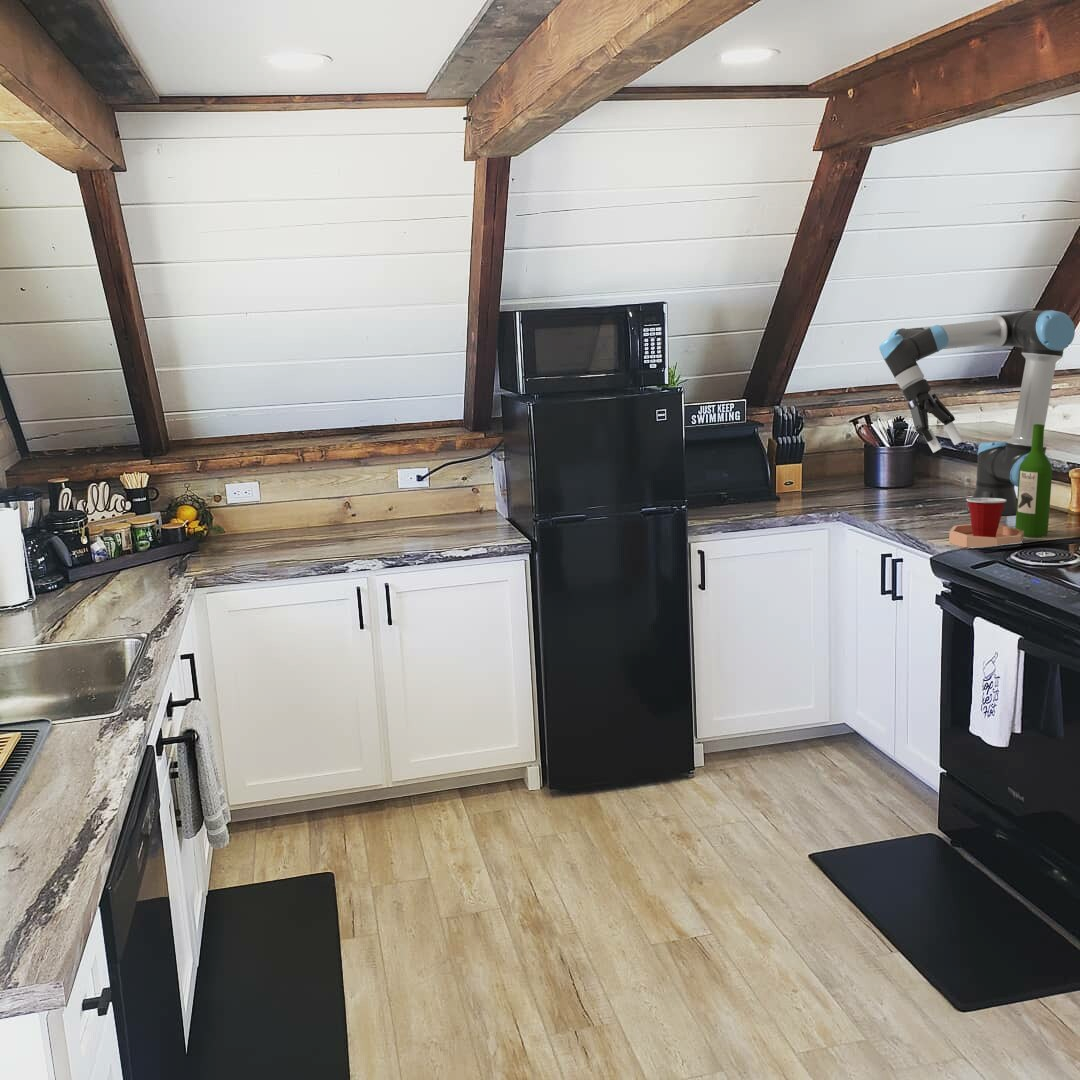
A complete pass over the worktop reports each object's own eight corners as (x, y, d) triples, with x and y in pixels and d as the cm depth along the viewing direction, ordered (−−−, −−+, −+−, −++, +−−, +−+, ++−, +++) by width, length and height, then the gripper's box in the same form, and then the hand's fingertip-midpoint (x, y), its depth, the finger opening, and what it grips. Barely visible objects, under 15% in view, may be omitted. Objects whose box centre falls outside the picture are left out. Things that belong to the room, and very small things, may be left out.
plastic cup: (997, 535, 328) (1000, 494, 325) (1009, 543, 317) (1011, 501, 315) (959, 535, 329) (961, 494, 326) (969, 543, 319) (971, 501, 316)
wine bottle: (1009, 534, 332) (1016, 425, 325) (1022, 530, 338) (1029, 422, 331) (1040, 539, 326) (1048, 427, 319) (1052, 533, 332) (1060, 424, 325)
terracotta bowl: (991, 533, 335) (992, 521, 334) (1036, 546, 317) (1037, 534, 316) (936, 538, 329) (937, 527, 329) (979, 552, 312) (980, 540, 311)
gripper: (922, 385, 345) (956, 445, 341) (882, 396, 328) (917, 459, 324) (943, 373, 339) (977, 434, 336) (903, 383, 322) (939, 447, 319)
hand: (948, 446), depth 330 cm, fingers open, 13 cm apart
